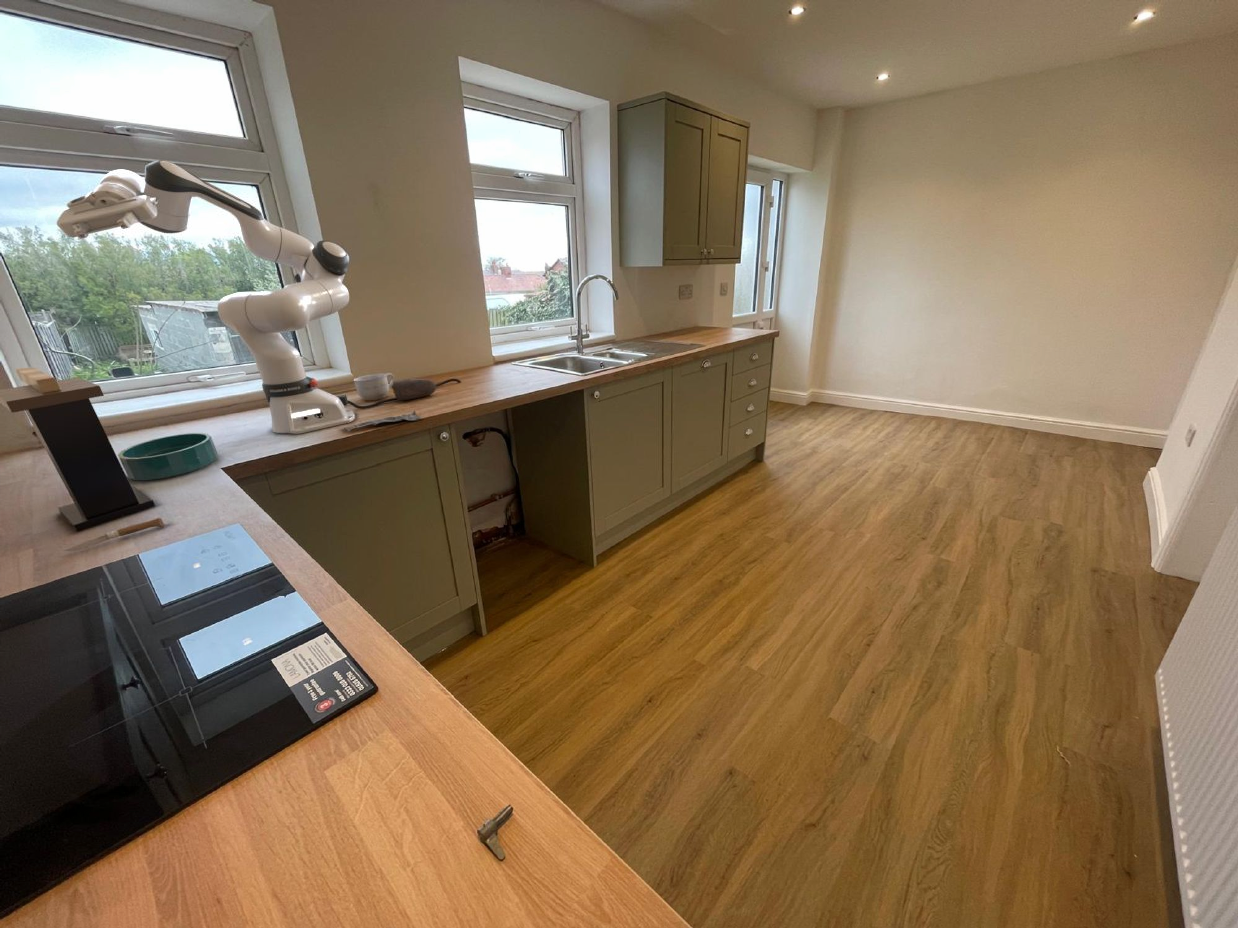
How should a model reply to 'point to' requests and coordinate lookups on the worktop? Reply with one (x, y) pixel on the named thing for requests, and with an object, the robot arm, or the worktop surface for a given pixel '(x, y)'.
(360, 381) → the teacup
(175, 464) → the bowl
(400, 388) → the grey rounded oblong body
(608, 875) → the worktop surface
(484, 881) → the worktop surface
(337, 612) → the worktop surface
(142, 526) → the folding knife
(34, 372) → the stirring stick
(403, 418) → the driftwood
